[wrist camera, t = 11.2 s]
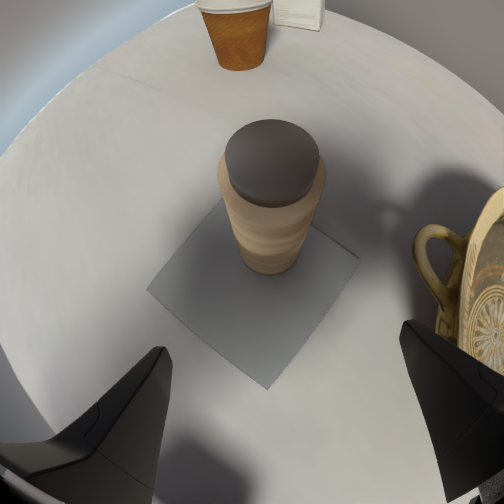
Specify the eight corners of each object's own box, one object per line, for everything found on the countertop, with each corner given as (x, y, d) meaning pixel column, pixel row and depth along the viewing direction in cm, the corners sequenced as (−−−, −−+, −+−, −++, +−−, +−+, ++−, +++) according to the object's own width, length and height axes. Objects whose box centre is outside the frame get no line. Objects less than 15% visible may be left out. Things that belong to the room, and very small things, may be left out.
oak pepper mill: (268, 288, 22) (270, 230, 10) (226, 244, 23) (190, 153, 11) (312, 247, 23) (353, 158, 11) (270, 207, 24) (273, 98, 12)
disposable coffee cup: (205, 81, 31) (188, 5, 19) (209, 48, 34) (197, -16, 22) (278, 75, 30) (280, -3, 19) (271, 43, 33) (270, -22, 22)
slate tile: (267, 388, 20) (267, 390, 20) (148, 290, 23) (145, 289, 22) (358, 262, 23) (360, 261, 22) (241, 181, 26) (240, 178, 25)
